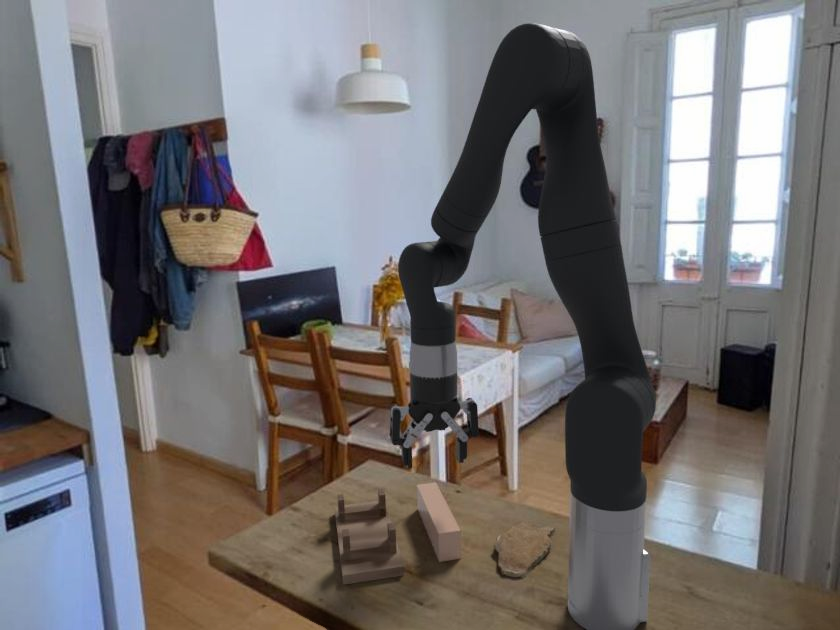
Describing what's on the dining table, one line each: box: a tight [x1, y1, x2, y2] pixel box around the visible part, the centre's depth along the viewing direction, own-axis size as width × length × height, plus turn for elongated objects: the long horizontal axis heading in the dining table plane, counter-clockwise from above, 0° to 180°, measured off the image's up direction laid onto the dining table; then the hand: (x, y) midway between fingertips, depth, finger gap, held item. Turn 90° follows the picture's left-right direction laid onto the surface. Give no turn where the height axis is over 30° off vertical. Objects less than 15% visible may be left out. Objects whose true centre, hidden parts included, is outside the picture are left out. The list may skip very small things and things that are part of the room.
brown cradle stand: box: [334, 488, 405, 586], centre depth 95 cm, size 20×9×6 cm, turn 12°
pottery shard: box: [493, 519, 556, 579], centre depth 92 cm, size 8×3×15 cm
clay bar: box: [416, 481, 462, 563], centre depth 97 cm, size 4×16×5 cm, turn 12°
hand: (434, 463), depth 95 cm, fingers open, 8 cm apart
